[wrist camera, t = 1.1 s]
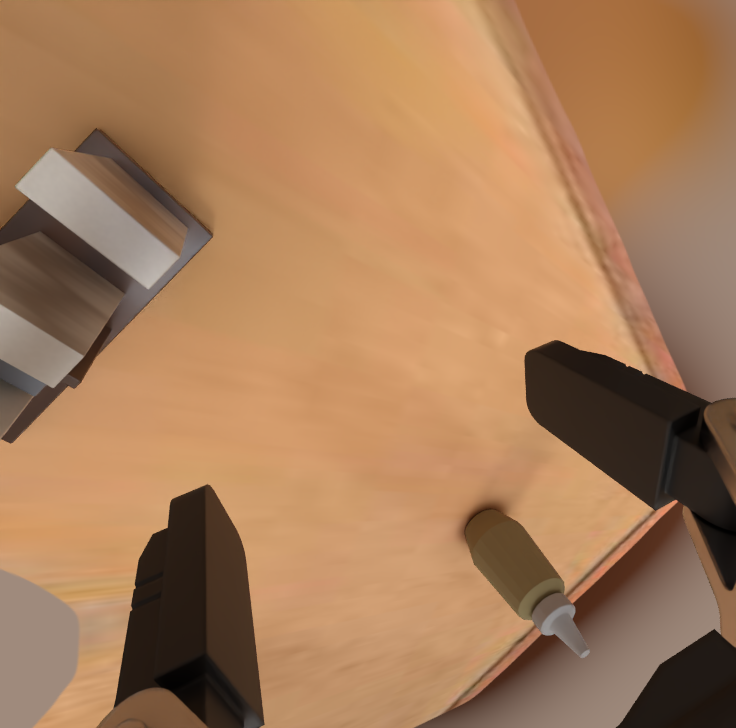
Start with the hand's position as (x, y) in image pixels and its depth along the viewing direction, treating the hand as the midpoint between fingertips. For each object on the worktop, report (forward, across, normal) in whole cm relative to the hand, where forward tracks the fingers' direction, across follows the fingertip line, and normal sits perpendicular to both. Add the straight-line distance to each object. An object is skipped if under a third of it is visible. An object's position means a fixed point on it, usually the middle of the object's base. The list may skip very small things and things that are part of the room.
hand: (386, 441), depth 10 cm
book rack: (+27, +14, -1) cm, 31 cm away
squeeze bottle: (+27, -16, +44) cm, 54 cm away
